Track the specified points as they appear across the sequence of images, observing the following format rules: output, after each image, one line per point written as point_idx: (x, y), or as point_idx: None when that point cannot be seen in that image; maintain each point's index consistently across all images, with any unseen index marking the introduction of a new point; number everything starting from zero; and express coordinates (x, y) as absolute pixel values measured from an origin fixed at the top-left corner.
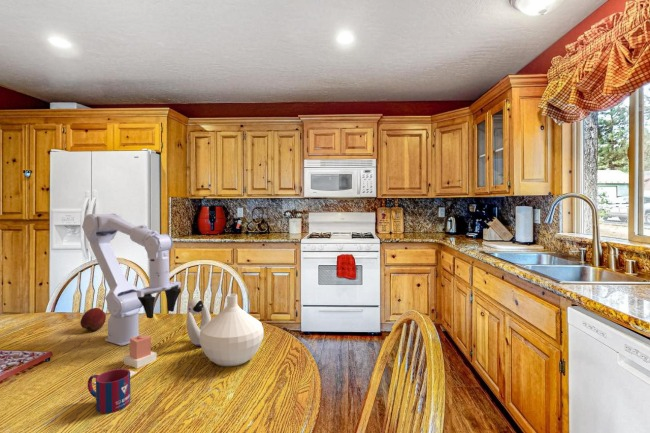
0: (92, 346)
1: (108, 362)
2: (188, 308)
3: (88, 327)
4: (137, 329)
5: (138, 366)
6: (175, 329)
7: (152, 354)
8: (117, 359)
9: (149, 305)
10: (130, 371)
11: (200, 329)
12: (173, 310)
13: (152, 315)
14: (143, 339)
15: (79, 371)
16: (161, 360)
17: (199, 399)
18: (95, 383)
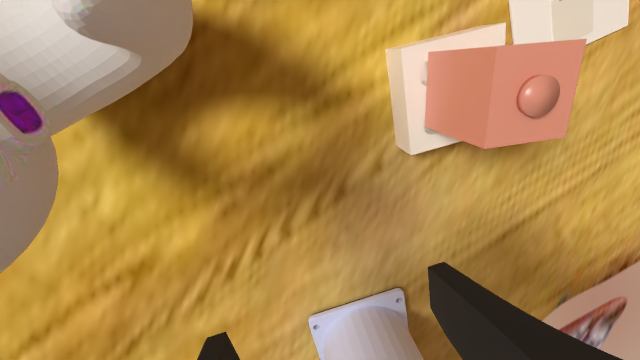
0: None
1: (499, 176)
2: (39, 141)
3: None
4: (345, 353)
5: (479, 26)
6: (161, 339)
7: (423, 44)
8: (469, 180)
9: (605, 354)
10: (515, 11)
11: (49, 84)
12: (208, 342)
13: (449, 276)
14: (541, 51)
15: (578, 169)
16: (374, 19)
17: None
18: (627, 14)
